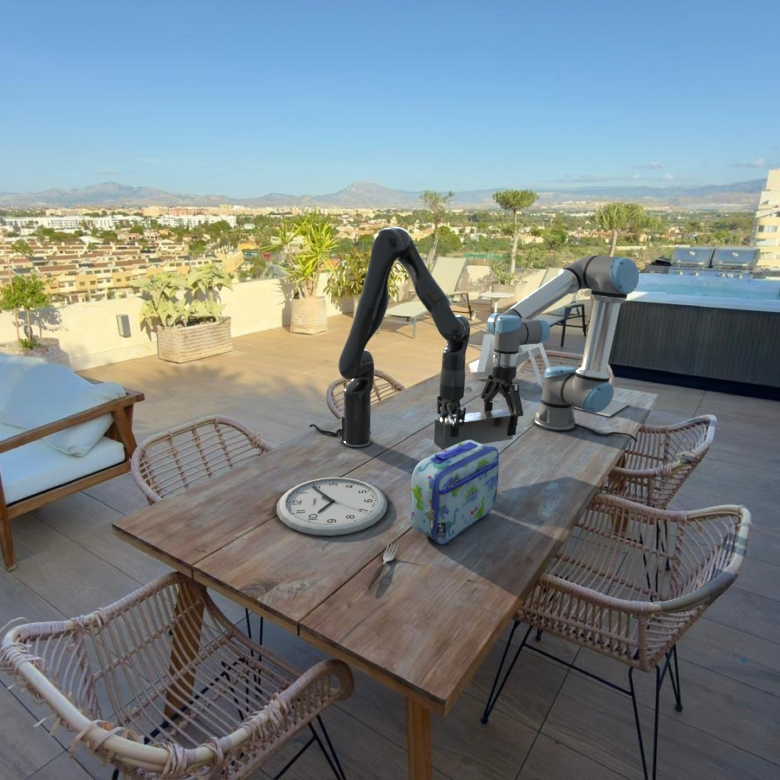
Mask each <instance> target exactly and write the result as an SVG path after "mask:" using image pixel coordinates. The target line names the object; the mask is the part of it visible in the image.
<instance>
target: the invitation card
mask: <svg viewBox="0 0 780 780" xmlns="http://www.w3.org/2000/svg"><path fill="white" fill-rule="evenodd" d="M628 406H629V404H627V403H623V402H618V401H614V400H611V402H610V404H609V405H608V406H607V407H606V408H605V409H604V410H602V411H600V412H597V413H595V414H596V415H600V416H604V417H608V418H609V417H611V416H613V415H614V414H616V413H617V412H619V411H621V410H623V409H624V408H626V407H628ZM573 409H575V410H581V411H584V412H586V411H585V410H583V409H581V408H578V407H575V406H573ZM587 413H590V412H589V411H587ZM591 413H593V412H591ZM593 414H594V413H593Z"/></svg>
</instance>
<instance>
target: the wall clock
mask: <svg viewBox="0 0 780 780" xmlns="http://www.w3.org/2000/svg"><path fill="white" fill-rule="evenodd" d="M387 509H388V500H387V498H386V496H385V494H384V493H383V492H382V491H381V490H380V489H379V488H377V487H376V486H374V485H372V484H371V483H369V482H365V481H362V480H359V479H355V478H349V477H338V476H337V477H335V476H333V477H332V476H331V477H322V478H317V479H312V480H307V481H305V482H302V483H299V484H297V485H295V486H293V487H292V488H290V489H288V490H287V491H286V492H285V493H284V494H283V495H281V496H280V498H279V499H278V502H277V503H276V515H277V517H278V518H279V520H280V521H281V522H282V523H283V524H285V525H286V526H287V527H288V528H290V529H293V530H295V531H297V532H299V533H303V534H308V535H312V536H327V537H328V536H329V537H331V536H332V537H333V536H342V535H350V534H352V533H356V532H361V531H363V530H366V529H368V528H369V527H372V526H373V525H375V524H376V523H378V522H379V521H380V520H381V519H382V518H383V517H384V516H385V514H386V512H387Z"/></svg>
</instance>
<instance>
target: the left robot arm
mask: <svg viewBox="0 0 780 780" xmlns="http://www.w3.org/2000/svg"><path fill="white" fill-rule="evenodd" d="M412 239H413V238H412V237H411V235H410V234H409V232H408V231H407V230H406V229H405V228H402V227H398V226H395V227H394V226H393V227H386V228H382V229H379V231H377V233H376V234H375V235H374V238H373V241H372V245H371V250H370V256H369V260H368V261H369V262H368V266H367V270H366V275H365V279H364V282H363V286H362V289H361V293H360V295H359V299H358V302H357V305H356V309H355V313H354V317H353V320H352V323H351V327H350V330H349V332H348V336H347V339H346V341H345V344H344V346H343V349H342V351H341V352H340V353H341V354H340V357H339V360H338V372H339V374H340V376H341V377H342V378H343V379H345V380H349V383H348V384H347V385H346V386H345V387H344V388H343V416H342V417H341V427H340V428H338V429H336V432H333V431H330V430H324V429H322V428H320V427H319V426H318V425H316V424H315V423H310V424H309V426H308V427H309V428H315V429H316V430H317V431H318V432H320V433H323V434H328V435H329V434H330V435H332V436H336V437H337V436H340V437H341V443H343V444H344V445H346V446H347V447H351V448H363V447H364V448H365V447H367V446H369V445H370V444H372V443H371V442H372V441H371V434H372V430H371V421H372V420H371V416H372V415H371V411H372V409H371V408H372V406H371V404H372V401H371V400H372V398H371V397H372V396H371V395H372V394H371V393H372V391H373V388H374V379H375V377H374V376H375V360H374V357H373V355H372V354H371V352H370V350H368V349H366V347H367V344H368V343H369V341H371V339H372V338H373V336H374V335H375V334H376V332H377V331H378V330H379V329H380V327H381V325H382V324H383V322H384V319H385V316H386V314H387V310H388V308H389V307H388V306H389V301H390V296H389V295H390V294H389V293H390V292H389V278H390V274H391V272H392V268H393V266H394V263H395V261H396V260H397V262H399V263H400V264H401V266H402V267H403V268H404V269H405V270H406V271H405V272H407V274H408V276H409V278H410V281H411V283H412V286H413V289H414V292H415V294H416V296H417V298H418V299H419V302H420V303H421V304H422V305H423V307H424V308H425V309H426V310H427V312H428V313H429V314H430V316H431V318H432V321H433V323H434V325H435V327H436V329H437V332H438V333H439V334H440V336H441V337H442V339H444V340H445V341H446V345H445V347H444V349H443V351H442V354H441V369H440V375H439V393H438V394H439V395H437V397H436V402H437V403H436V405H437V406H436V409H437V410H436V413H437V415H439V418H440V417H447V416H449V418H450V419H451V422H452V432H451V436H452V437H453V438H454V437H458V436H459V426H464V421H465V414H467V413H466V412H467V408H466V407H462V406H461V400H462V399H463V398H464V397H465V387H466V386H465V385H466V358H467V357H466V354H467V351H468V350H467V349H468V346H469V341H470V335H471V325H470V324H471V323H470V321H469V319H468V318H466V317H465V316H464V315H460V314H459V315H458V314H457V315H455V313H454V312H453V310H452V308H451V305H452V303H451V301H450V298H449V297H448V296H447V294H446V293H445V292H444V290H443V289H442V288H441V287H440V284H438V282H437V281H436V280H435V278H434V277H433V275H432V274H431V272H430V271H429V269H428V267H427V265H426V264H425V262H424V259H423V258H422V256H421V254H420V253H419V250H418V249H417V247H416V245H415V243H414V240H412ZM454 415H456V416H454ZM455 418H456V421H455V420H454V419H455ZM460 420H461V422H460Z"/></svg>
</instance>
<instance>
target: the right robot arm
mask: <svg viewBox="0 0 780 780" xmlns="http://www.w3.org/2000/svg"><path fill="white" fill-rule="evenodd" d="M639 280H640V272H639V267H638V266H637V264H636V262H635V261H634V260H633V259H630V258H627V257H622V256H608V255H595V254H594V255H588V256H583V257H582V258H579V259H577V260H574V261H573V262H571V263H569V264H568V265H566V266H565V267H563V268H562V269H560V270H559V271H558V272H557V274H556V276H555V277H553V278H552V279H551V280H549V281H548V282H546V283H545V284H543V285H542V286H540V287H539V288H538V289H536V290H535V291H533V292H532V293H531V294H529V295H527V296H526V297H525V298H523V299H522V300H520V301H519V302H518V303H516V304H515V305H513V306H512V307H510V308H509V309H507V310H506V311H504V312H494V313H492V314H490V316H489V317H488V319H487V322H486V326H487V330H488V332H489V334H492V335H493V336H494V337H495V343H494V357H493V363H494V365H493V366H492V375H488V377H487V380H486V382H485V386H484V388H483V389H482V392H481V395H480V399H482V400H483V402H484V403H483V406H484V407H483V412H484V411H491V410H493V405H494V401H493V400H494V398H495V397H496V396H497V395H498V393H499V394H500V395H502V397H503V398H504V399H505V403H506V406H507V409H508V411H509V412H510V414H511V415H510V416H509V420H508V430H507V436H512V435H513V436H517V435H516V433H517V426H518V423H519V422H518V420H519V418H520V417H523V416H524V411H523V405H522V400H521V395H520V384H514V383H513V382H514V381H513V380H514V379H515V378H516V377H517V367H518V366H517V367H516V365H517V361H518V350H519V345H528V344H538V343H542V344H543V343H545V342H547V341H548V340H549V338H550V336H551V327H550V325H549V323H548V322H547V321H546V320H545V319H535V318H537V317H538V316H540V315H541V314H542V313H544V312H545V311H547V310H548V309H549V308H551V307H552V306H554V305H556V303H558V302H560V301H561V300H562V299H563V298H565V297H566V296H568V295H569V294H570V295H573V294H576V293H577V292H578V291H581V290H591V292H590V296H591V298H592V299H593V304H592V305H593V306H592V310H591V315H590V320H589V325H588V330H587V335H586V339H585V345H584V349H583V355H582V360H581V364H580V367H579V368H577V367H574V366H567V365H557V366H550V367H549V368H546V369H545V370H544V375H543V378H542V381H543V389H542V392H541V402H540V405H539V407H538V410H537V411H536V413H535V417H534V424H535V425H536V426H537V427H539V428H542V429H544V430H549V431H556V432H567V431H572V430H574V429H575V428H580V429H582V430H585V431H588V432H591V433H593V434H595V435H597V436H600V437H607V436H611V435H619V436H626V437H629V438H631V439H632V440H633V441H634V442H636V443H638V440H637V438H636V437H635V436H633V435H632V434H630V433H627V432H619V431H611V432H606V433H601V432H597V431H596V430H594V429H592V428H589V427H586V426H583V425H580V424H577V423H576V418H575V417H576V416H575V413H574V407H578V408H581V409H583V410H582V411H584V410H585V411H584V412H588V411H589V412H588V413H592V412H593V414H596V413H597V412H600V411H602V410H604V409H605V408H606V407H607V406H608V405H609V404H610V402H611V401H613V398H614V394H615V389H614V386H613V385H612V384H611V383H610V378H611V376H610V374H609V373H608V371H607V370H608V366H609V360H610V355H611V350H612V346H613V341H614V336H615V332H616V327H617V322H618V317H619V313H620V308H621V305H622V303H624V302H625V301H627V299H628V295H630V294H632V293H633V292H634V291H635V289H636V288H637V286H638V284H639Z"/></svg>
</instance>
